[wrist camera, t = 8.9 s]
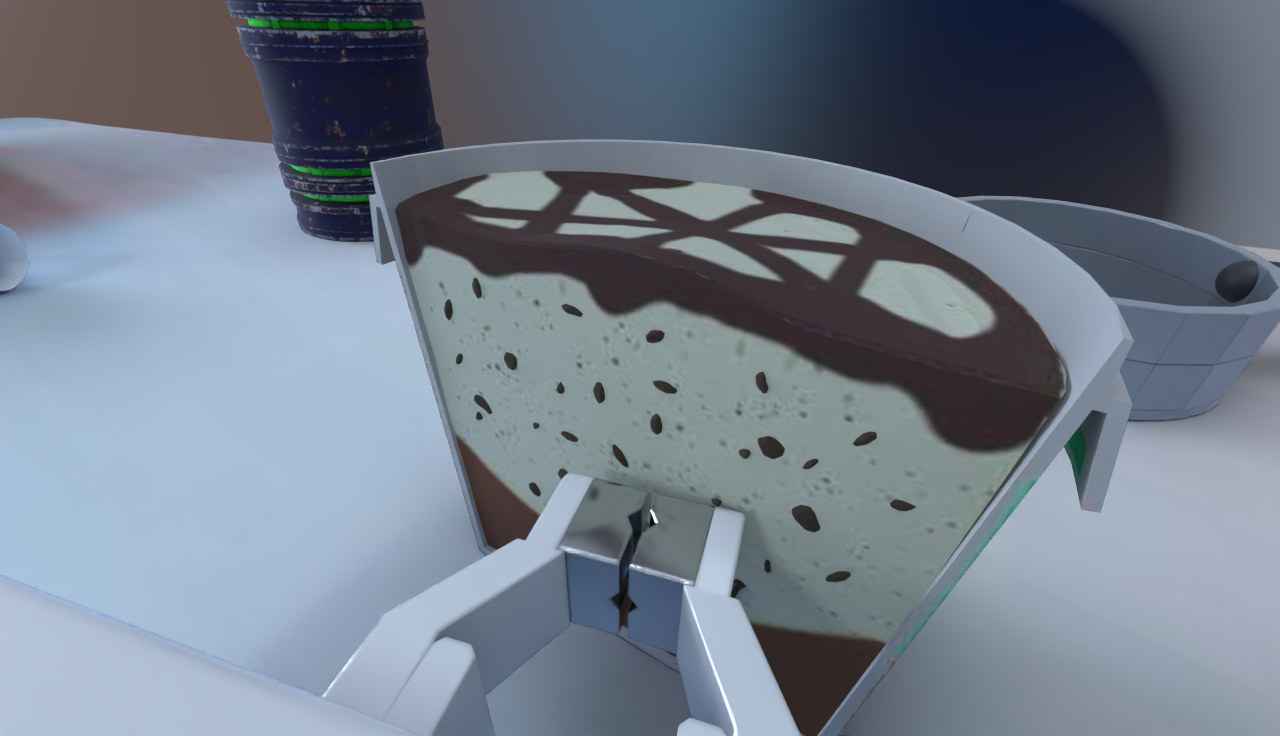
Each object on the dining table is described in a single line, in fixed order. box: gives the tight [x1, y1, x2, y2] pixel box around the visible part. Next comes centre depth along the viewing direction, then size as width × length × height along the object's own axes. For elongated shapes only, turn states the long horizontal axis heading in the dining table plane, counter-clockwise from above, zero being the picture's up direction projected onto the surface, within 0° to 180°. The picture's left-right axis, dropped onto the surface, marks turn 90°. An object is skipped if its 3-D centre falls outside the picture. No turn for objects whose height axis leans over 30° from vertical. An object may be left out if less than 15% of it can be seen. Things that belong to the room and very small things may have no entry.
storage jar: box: [226, 0, 444, 241], centre depth 34 cm, size 10×10×15 cm
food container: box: [369, 140, 1134, 736], centre depth 13 cm, size 12×6×10 cm, turn 58°
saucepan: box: [957, 196, 1280, 420], centre depth 25 cm, size 13×13×4 cm
